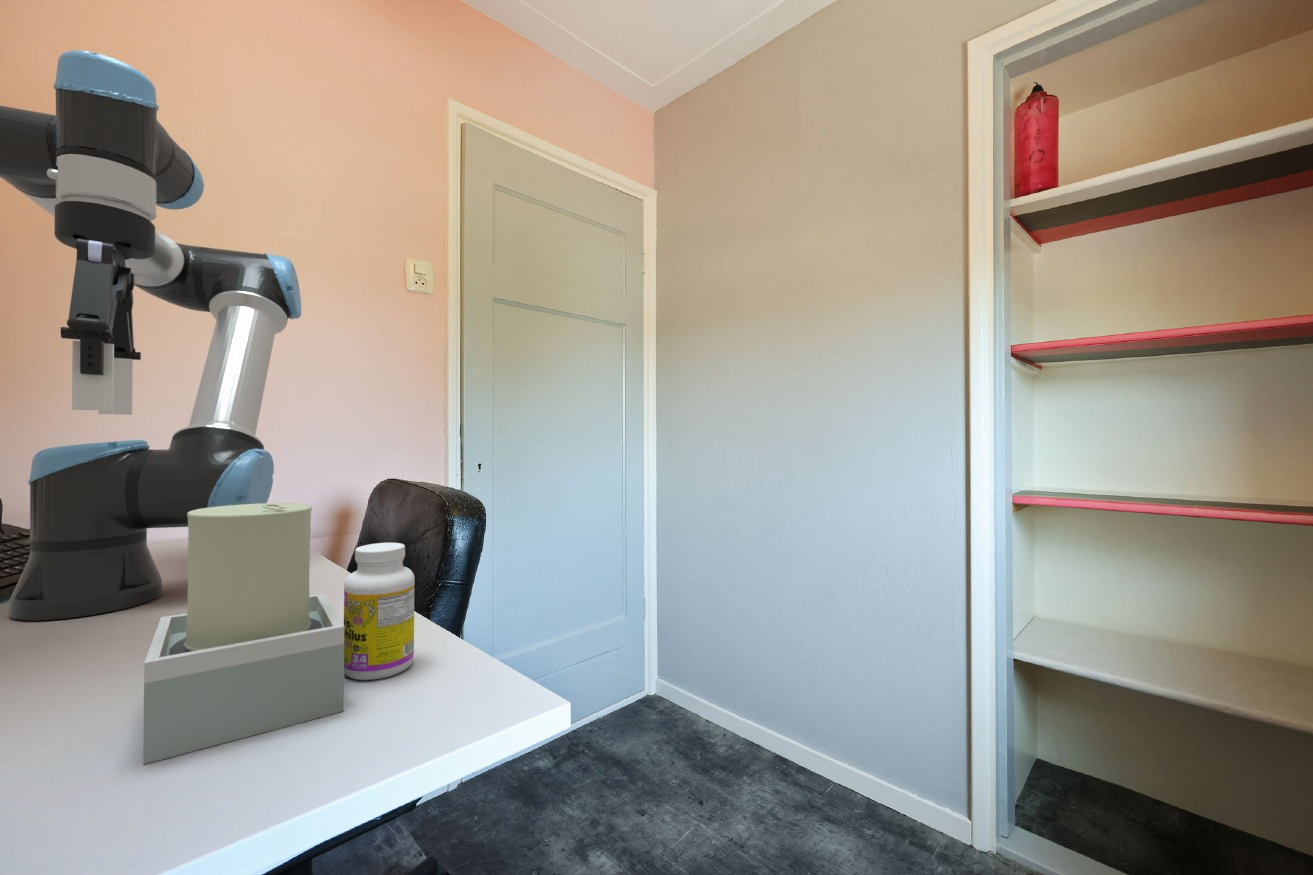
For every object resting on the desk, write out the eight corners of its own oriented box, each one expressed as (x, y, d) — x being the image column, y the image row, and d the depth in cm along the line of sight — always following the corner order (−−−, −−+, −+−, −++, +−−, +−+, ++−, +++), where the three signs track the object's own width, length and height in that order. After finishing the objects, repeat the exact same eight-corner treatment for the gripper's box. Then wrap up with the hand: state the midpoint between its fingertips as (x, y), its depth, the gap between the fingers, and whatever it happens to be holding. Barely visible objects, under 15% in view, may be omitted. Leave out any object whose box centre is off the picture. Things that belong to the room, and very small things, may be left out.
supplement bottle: (333, 668, 57) (334, 546, 57) (398, 651, 62) (399, 538, 62) (356, 689, 53) (357, 556, 53) (424, 668, 57) (425, 546, 58)
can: (245, 659, 44) (248, 511, 44) (154, 649, 46) (157, 507, 46) (334, 622, 53) (335, 499, 53) (255, 615, 55) (257, 496, 55)
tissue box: (160, 697, 51) (161, 616, 51) (323, 662, 59) (323, 593, 59) (143, 764, 40) (144, 662, 40) (343, 711, 48) (344, 626, 48)
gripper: (81, 237, 65) (79, 414, 65) (18, 153, 46) (16, 406, 46) (165, 251, 70) (163, 416, 70) (141, 180, 50) (139, 409, 50)
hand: (105, 412), depth 58 cm, fingers open, 13 cm apart
